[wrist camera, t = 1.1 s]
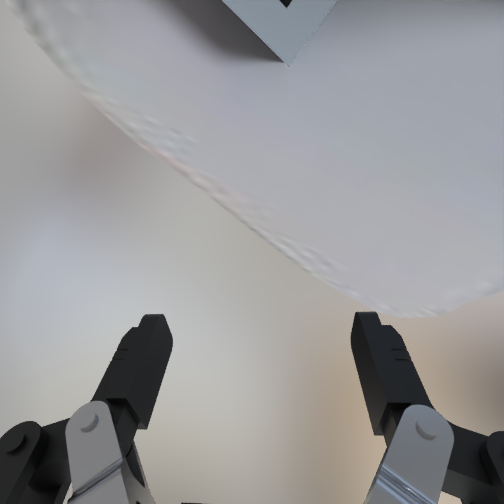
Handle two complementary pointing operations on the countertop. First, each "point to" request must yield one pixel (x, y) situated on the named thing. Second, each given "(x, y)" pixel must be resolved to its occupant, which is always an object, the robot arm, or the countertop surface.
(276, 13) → the socket block
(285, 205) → the countertop surface
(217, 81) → the countertop surface
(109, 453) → the robot arm
